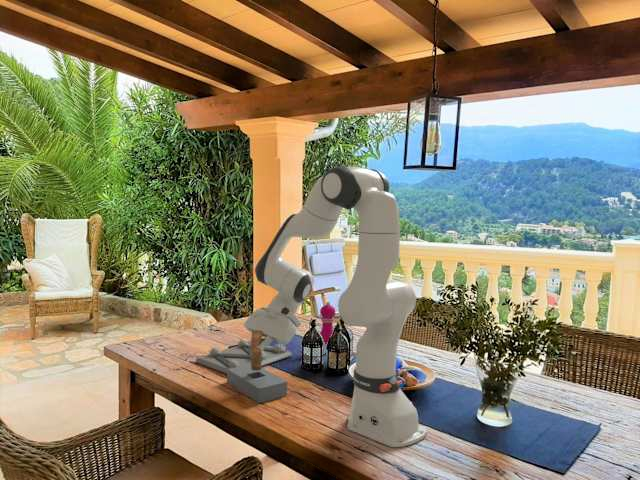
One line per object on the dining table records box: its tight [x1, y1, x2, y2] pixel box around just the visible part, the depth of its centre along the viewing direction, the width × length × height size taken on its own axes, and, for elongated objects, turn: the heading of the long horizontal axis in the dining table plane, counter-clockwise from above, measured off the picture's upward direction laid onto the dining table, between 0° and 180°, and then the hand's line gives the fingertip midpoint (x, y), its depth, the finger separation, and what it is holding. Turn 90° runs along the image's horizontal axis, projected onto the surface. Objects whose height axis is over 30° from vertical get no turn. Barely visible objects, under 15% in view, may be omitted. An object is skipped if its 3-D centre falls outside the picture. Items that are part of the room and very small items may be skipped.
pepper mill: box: [319, 301, 336, 344], centre depth 201 cm, size 7×7×20 cm
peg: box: [251, 331, 263, 371], centre depth 161 cm, size 3×3×12 cm
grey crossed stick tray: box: [195, 337, 293, 375], centre depth 189 cm, size 30×22×7 cm
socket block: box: [226, 364, 288, 404], centre depth 162 cm, size 20×10×4 cm, turn 39°
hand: (255, 347), depth 161 cm, fingers closed on peg, 3 cm apart
